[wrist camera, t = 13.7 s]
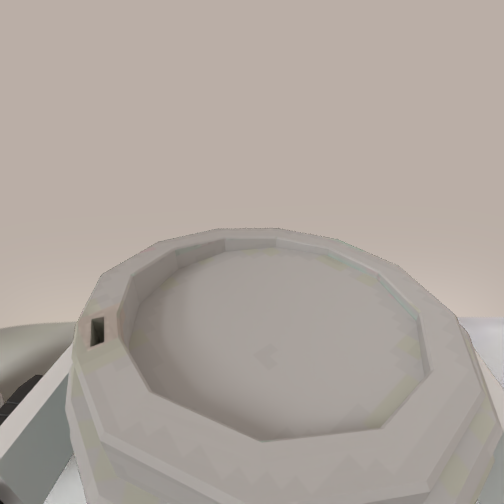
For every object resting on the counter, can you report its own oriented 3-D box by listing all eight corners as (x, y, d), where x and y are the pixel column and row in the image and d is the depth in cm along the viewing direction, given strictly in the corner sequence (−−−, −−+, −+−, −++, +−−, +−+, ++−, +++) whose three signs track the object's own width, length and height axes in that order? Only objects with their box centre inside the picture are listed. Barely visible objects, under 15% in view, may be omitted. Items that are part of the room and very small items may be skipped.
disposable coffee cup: (301, 400, 21) (320, 195, 14) (442, 614, 12) (683, 356, 5) (146, 470, 17) (65, 238, 10) (191, 851, 8) (-168, 1074, 1)
